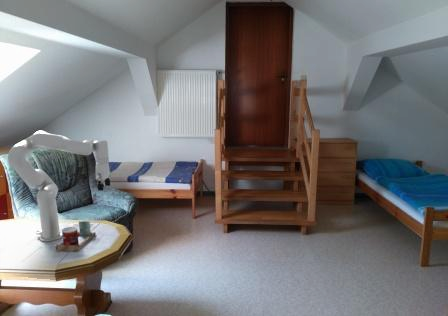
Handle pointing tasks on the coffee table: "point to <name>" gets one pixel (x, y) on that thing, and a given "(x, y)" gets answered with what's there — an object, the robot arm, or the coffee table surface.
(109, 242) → the coffee table surface
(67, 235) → the canned food
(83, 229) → the wooden rectangular frame
